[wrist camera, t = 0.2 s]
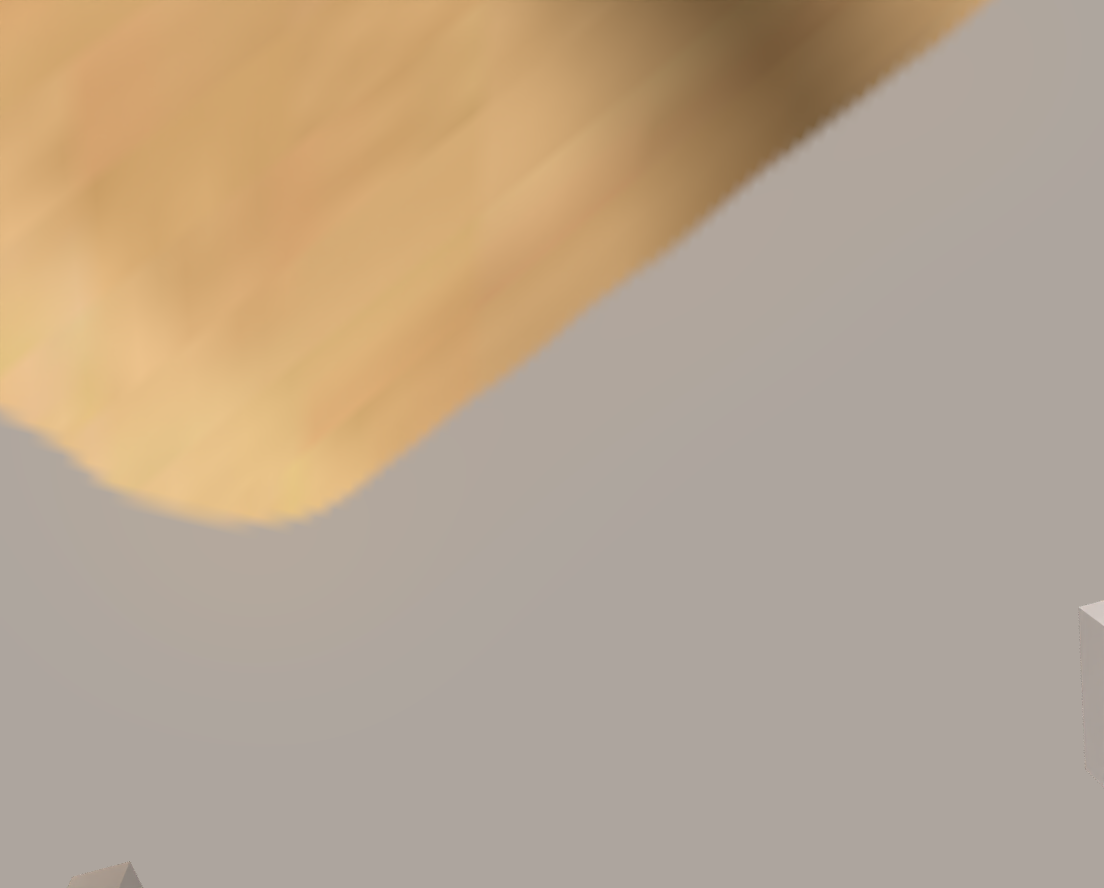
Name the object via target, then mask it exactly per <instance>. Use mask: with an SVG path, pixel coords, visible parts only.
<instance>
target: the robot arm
mask: <svg viewBox="0 0 1104 888" xmlns="http://www.w3.org/2000/svg"><path fill="white" fill-rule="evenodd" d="M1078 609H1079V634H1080V658H1081V680H1082V681H1081V682H1082V705H1083V728H1084V754H1085V769H1086V770H1087V771H1088V772H1089V773H1090V774H1091V775H1092V776H1093V777H1094V778H1095V779H1096V780H1097V781H1098V782H1099V783H1100V784H1101V785H1102V786H1103V787H1104V600H1102V601H1099V602H1095V603H1091V604H1088V605H1084V606H1080V607H1078ZM67 888H143V887H142V885H141V883H140V881H139V879H138V877H137V875H136V873H135V871H134V869H133V867H132V864H131V862H126V863H122V864H118V865H115V866H111V867H108V868H104V869H100V870H96V871H92V872H89V873H85V874H81V875H77V876H74V877H72V879H71V881H70V883H69V885H68V887H67Z"/></svg>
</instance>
